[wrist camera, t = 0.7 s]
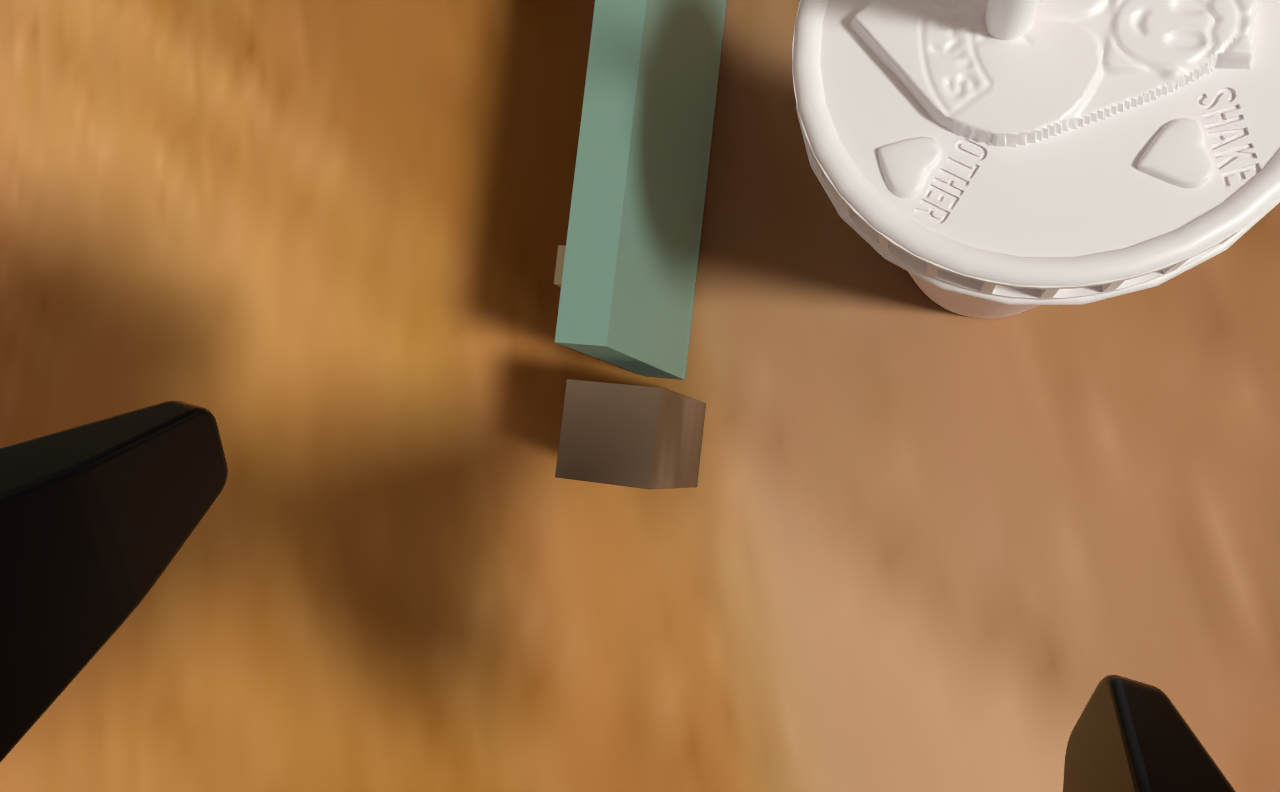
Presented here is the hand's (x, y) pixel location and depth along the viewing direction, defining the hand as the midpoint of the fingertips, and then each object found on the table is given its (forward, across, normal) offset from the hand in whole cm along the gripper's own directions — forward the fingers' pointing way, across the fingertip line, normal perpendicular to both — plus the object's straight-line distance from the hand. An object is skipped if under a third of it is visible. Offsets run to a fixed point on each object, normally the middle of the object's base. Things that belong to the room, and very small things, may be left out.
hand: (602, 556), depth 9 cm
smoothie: (+14, -4, +2) cm, 15 cm away
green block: (+15, +4, 0) cm, 16 cm away
